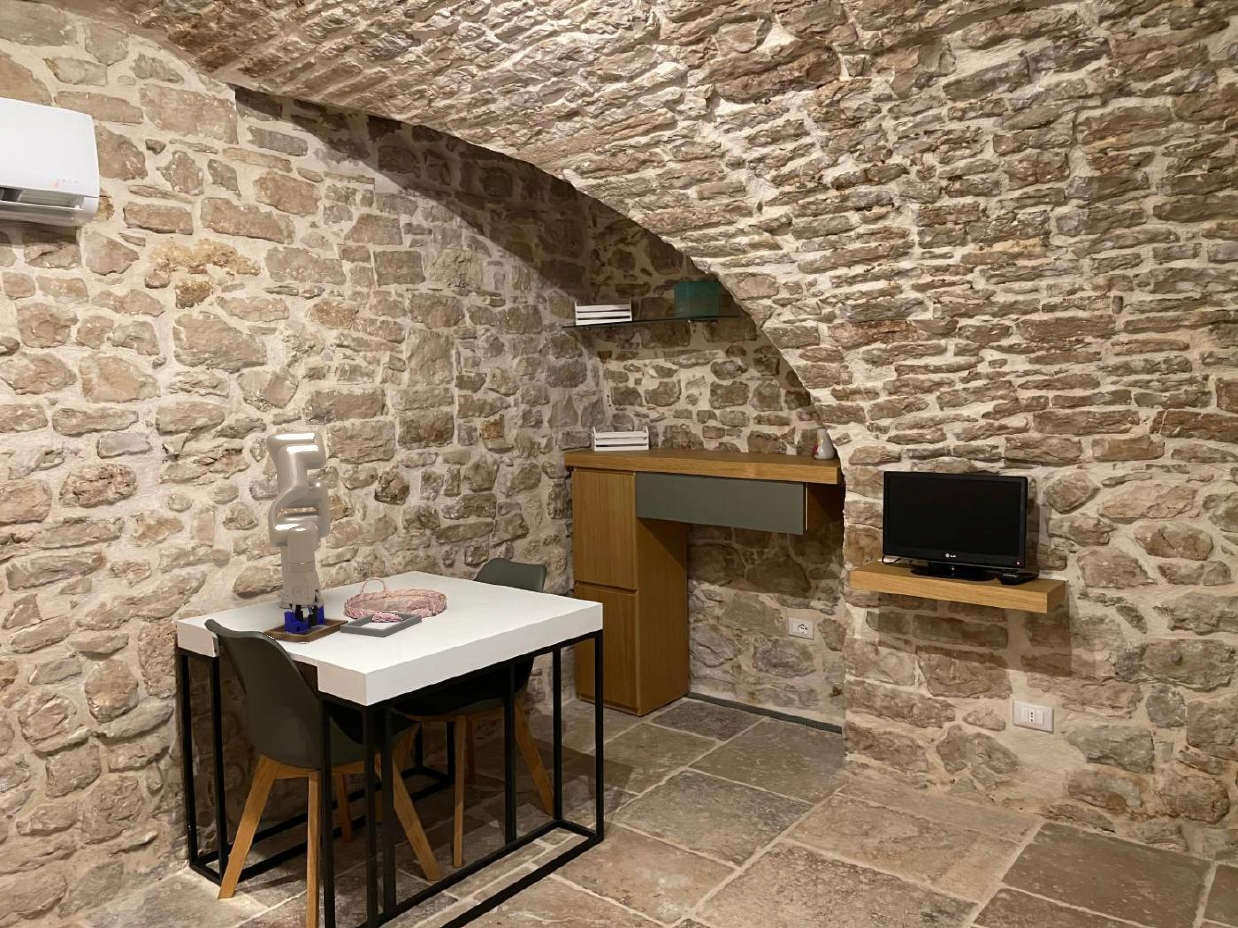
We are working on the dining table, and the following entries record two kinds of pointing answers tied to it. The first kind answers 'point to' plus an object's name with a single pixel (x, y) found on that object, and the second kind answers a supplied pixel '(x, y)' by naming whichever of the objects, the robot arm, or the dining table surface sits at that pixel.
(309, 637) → the walnut holder
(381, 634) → the tray
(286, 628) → the blue notched cradle block
